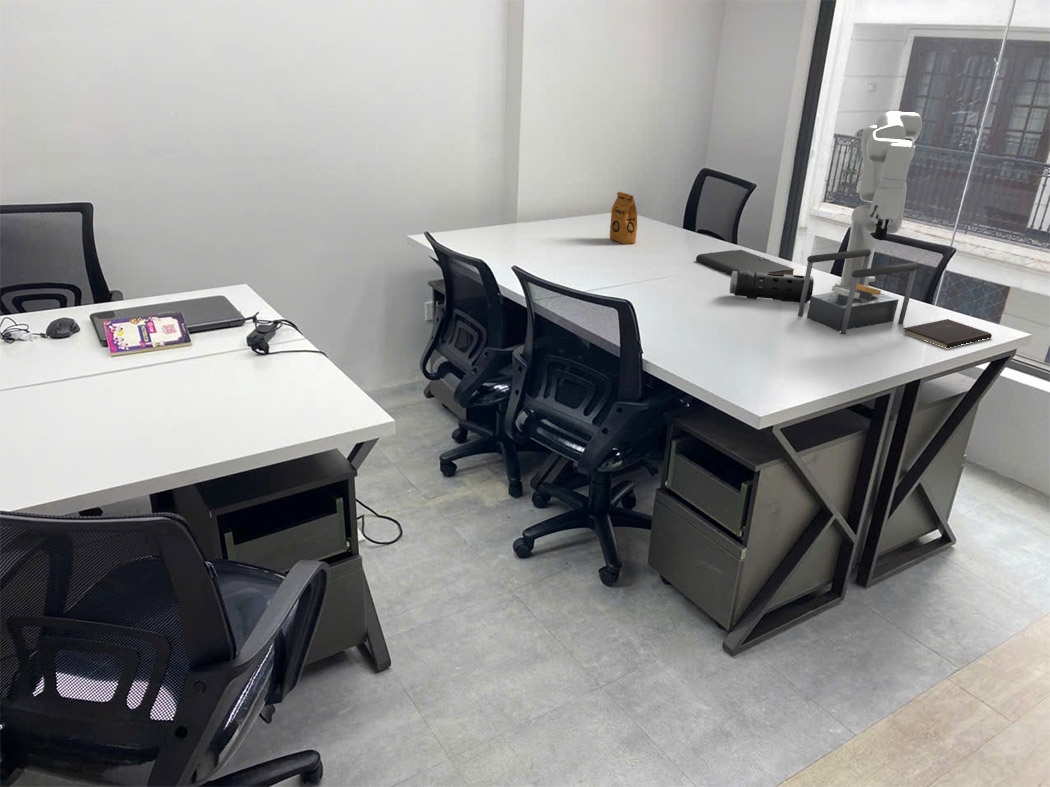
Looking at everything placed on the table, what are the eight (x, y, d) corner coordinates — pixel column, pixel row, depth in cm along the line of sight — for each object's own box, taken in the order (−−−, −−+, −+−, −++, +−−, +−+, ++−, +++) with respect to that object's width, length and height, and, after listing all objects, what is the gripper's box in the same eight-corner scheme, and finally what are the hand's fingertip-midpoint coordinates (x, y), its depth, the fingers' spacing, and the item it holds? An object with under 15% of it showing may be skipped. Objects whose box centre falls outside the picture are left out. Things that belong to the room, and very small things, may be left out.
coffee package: (620, 245, 351) (625, 196, 341) (606, 239, 361) (610, 191, 351) (639, 243, 355) (643, 195, 346) (624, 237, 365) (628, 190, 356)
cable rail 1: (855, 306, 279) (867, 248, 270) (860, 307, 277) (873, 249, 268) (795, 315, 267) (806, 255, 258) (800, 317, 265) (811, 256, 256)
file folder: (795, 268, 310) (747, 274, 301) (793, 278, 312) (746, 284, 303) (741, 248, 337) (696, 253, 328) (740, 257, 339) (695, 263, 330)
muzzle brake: (809, 307, 276) (815, 279, 271) (729, 300, 280) (733, 272, 276) (806, 300, 284) (811, 272, 280) (728, 293, 289) (732, 266, 284)
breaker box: (860, 309, 275) (866, 284, 271) (893, 321, 264) (899, 295, 260) (806, 318, 264) (811, 291, 260) (838, 331, 253) (844, 303, 249)
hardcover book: (901, 334, 254) (903, 327, 253) (945, 325, 264) (947, 318, 263) (946, 350, 241) (948, 344, 240) (990, 340, 251) (992, 333, 250)
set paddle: (846, 293, 262) (848, 289, 261) (858, 298, 258) (860, 293, 257) (831, 290, 258) (832, 285, 257) (842, 295, 254) (844, 290, 253)
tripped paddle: (867, 291, 266) (869, 286, 266) (879, 295, 262) (881, 290, 262) (852, 287, 262) (854, 282, 262) (864, 291, 258) (866, 286, 257)
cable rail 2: (899, 322, 263) (914, 261, 254) (905, 324, 261) (920, 263, 253) (837, 333, 251) (851, 269, 242) (843, 335, 249) (857, 271, 240)
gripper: (898, 179, 256) (885, 234, 264) (866, 183, 249) (854, 238, 258) (917, 184, 250) (904, 239, 258) (885, 187, 243) (872, 244, 252)
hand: (879, 239), depth 258 cm, fingers closed
